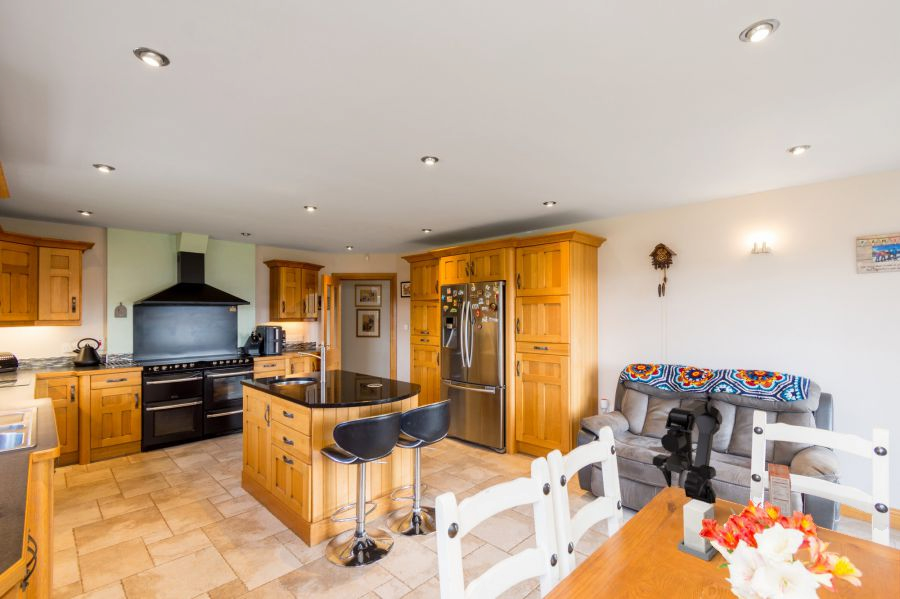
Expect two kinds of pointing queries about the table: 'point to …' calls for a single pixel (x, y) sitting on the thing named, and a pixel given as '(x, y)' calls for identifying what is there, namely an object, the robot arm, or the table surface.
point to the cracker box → (780, 488)
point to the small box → (696, 524)
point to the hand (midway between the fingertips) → (683, 491)
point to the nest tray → (696, 551)
